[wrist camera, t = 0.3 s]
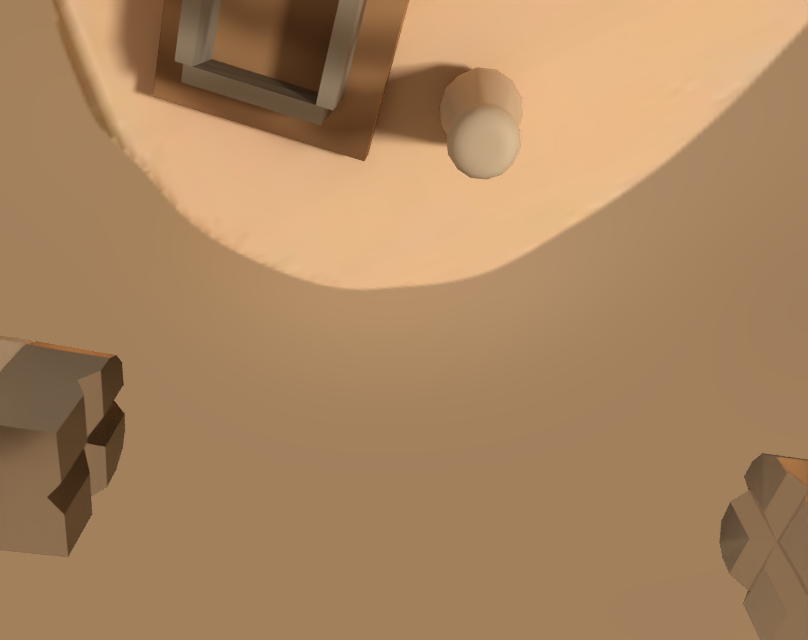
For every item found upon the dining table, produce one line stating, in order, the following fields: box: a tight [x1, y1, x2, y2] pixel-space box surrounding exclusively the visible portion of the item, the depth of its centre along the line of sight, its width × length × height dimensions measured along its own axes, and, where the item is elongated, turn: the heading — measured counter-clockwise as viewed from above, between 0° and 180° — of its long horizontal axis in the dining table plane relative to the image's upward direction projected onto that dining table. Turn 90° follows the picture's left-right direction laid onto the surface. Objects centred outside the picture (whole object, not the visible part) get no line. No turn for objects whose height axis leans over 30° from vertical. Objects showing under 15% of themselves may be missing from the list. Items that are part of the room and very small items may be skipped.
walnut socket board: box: [153, 0, 409, 161], centre depth 48 cm, size 16×16×6 cm
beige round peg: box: [440, 68, 523, 179], centre depth 47 cm, size 6×6×13 cm
